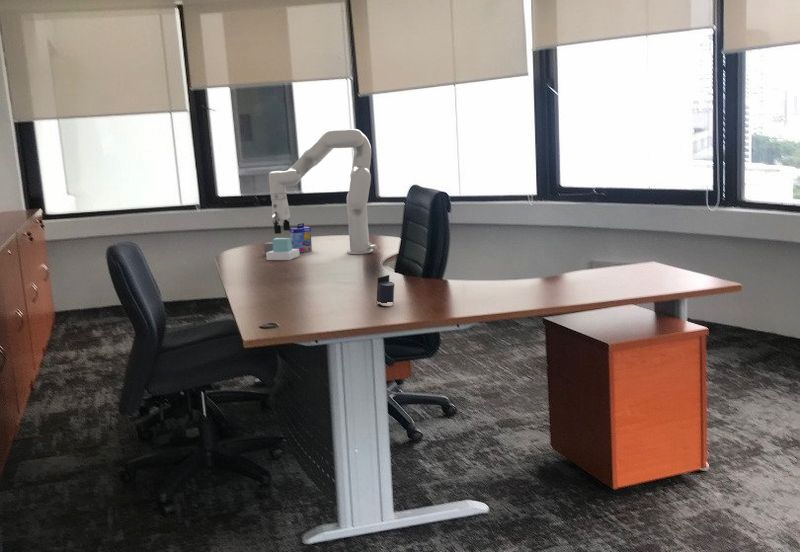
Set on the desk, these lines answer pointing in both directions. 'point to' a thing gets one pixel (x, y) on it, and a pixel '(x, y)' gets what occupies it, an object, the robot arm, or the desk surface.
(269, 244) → the grey brick
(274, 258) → the white block
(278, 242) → the teal brick
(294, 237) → the ink cartridge box
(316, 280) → the desk surface
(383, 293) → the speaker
